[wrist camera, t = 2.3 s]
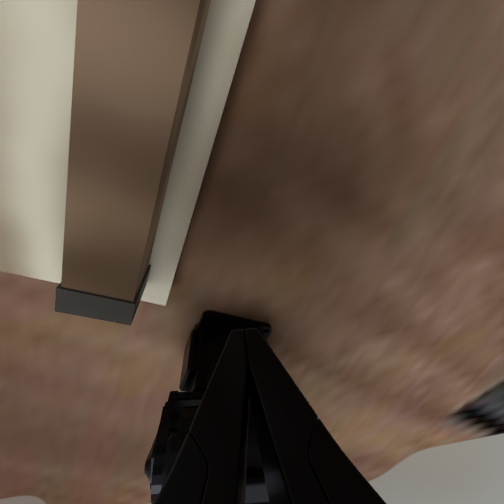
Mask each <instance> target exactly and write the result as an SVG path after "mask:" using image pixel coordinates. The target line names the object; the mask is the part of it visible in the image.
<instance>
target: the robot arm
mask: <svg viewBox="0 0 504 504" xmlns="http://www.w3.org/2000/svg"><path fill="white" fill-rule="evenodd" d="M206 317H210V318H206ZM265 329H267V330H265ZM271 331H272V330H271V326H270V325H269V324H265V323H260V322H256V321H251V320H246V319H241V318H237V317H232V316H227V315H223V314H218V313H213V312H204V313H203V314H202V317H201V319H200V322H199V325H198V327H197V330H193V331H192V332H191V334H190V337H189V340H188V342H187V345H186V348H185V352H184V359H183V366H182V373H181V380H180V387H179V388H180V390H181V391H184V392H178V391H170V395H169V399H168V402H166V403H165V406H164V407H163V410H162V415H161V421H160V425H159V429H158V432H157V436H156V438H155V440H154V443H153V445H152V448H151V450H150V452H149V455H148V457H147V460H146V463H145V470H144V471H145V474H146V476H147V477H148V478H149V480H150V489H151V503H152V504H386V503H385V502H384V501H383V499H382V498H381V497H380V496H379V495H378V493H377V492H376V491H375V490H374V489H373V487H372V486H371V485H370V484H369V483H368V481H367V480H366V479H365V478H364V477H363V476H362V474H361V473H360V472H359V471H358V470H357V468H356V467H355V466H354V465H353V463H352V462H351V461H350V460H349V458H348V457H347V456H346V455H345V453H344V452H343V451H342V450H341V448H340V447H339V445H338V444H337V443H336V441H335V440H334V439H333V437H332V436H331V434H330V433H329V432H328V430H327V429H326V427H325V426H324V424H323V423H322V422H321V420H320V419H317V418H318V416H317V414H316V413H315V412H314V410H313V409H312V407H311V406H310V404H309V403H308V401H307V400H306V398H305V397H304V396H303V394H302V393H301V391H300V390H299V388H298V387H297V385H296V384H295V382H294V381H293V379H292V378H291V377H290V375H289V374H288V372H287V371H286V369H285V368H284V366H283V365H282V363H281V362H280V361H279V359H278V358H277V356H276V355H275V353H274V352H273V350H272V349H271V347H270V346H269V344H268V343H267V342H266V340H267V338H268V337H269V335H270V333H271Z"/></svg>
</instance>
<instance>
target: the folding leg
mask: <svg viewBox="0 0 504 504" xmlns="http://www.w3.org/2000/svg"><path fill="white" fill-rule="evenodd" d="M210 3H211V0H78V1H77V18H76V36H75V53H74V70H73V87H72V105H71V122H70V139H69V157H68V174H67V191H66V209H65V226H64V243H63V261H62V278H61V283H60V284H59V285H58V286H57V288H56V301H55V311H57V312H62V313H67V314H73V315H78V316H84V317H89V318H94V319H100V320H105V321H110V322H116V323H121V324H127V325H131V323H132V321H133V318H134V315H135V313H136V310H137V308H138V305H139V303H140V300H141V297H142V295H143V292H144V290H145V287H146V284H147V281H148V277H149V272H150V268H151V265H149V261H150V257H151V253H152V248H153V244H154V240H155V236H156V231H157V227H158V223H159V219H160V214H161V210H162V206H163V202H164V197H165V193H166V189H167V185H168V181H169V176H170V172H171V168H172V164H173V159H174V155H175V151H176V147H177V142H178V138H179V134H180V130H181V125H182V121H183V117H184V113H185V109H186V104H187V100H188V96H189V92H190V87H191V83H192V79H193V75H194V70H195V66H196V62H197V58H198V53H199V49H200V45H201V41H202V37H203V32H204V28H205V24H206V20H207V15H208V11H209V7H210Z"/></svg>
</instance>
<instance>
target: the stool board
mask: <svg viewBox="0 0 504 504" xmlns="http://www.w3.org/2000/svg"><path fill="white" fill-rule="evenodd" d="M77 1H78V0H0V271H3V272H8V273H12V274H17V275H22V276H27V277H31V278H36V279H41V280H46V281H50V282H55V283H61V278H62V261H63V243H64V226H65V209H66V191H67V174H68V157H69V139H70V122H71V105H72V87H73V70H74V53H75V36H76V18H77ZM255 1H256V0H211V3H210V7H209V11H208V15H207V20H206V24H205V28H204V32H203V37H202V41H201V45H200V49H199V53H198V58H197V62H196V66H195V70H194V75H193V79H192V83H191V87H190V92H189V96H188V100H187V104H186V109H185V113H184V117H183V121H182V125H181V130H180V134H179V138H178V142H177V147H176V151H175V155H174V159H173V164H172V168H171V172H170V176H169V181H168V185H167V189H166V193H165V197H164V202H163V206H162V210H161V214H160V219H159V223H158V227H157V231H156V236H155V240H154V244H153V248H152V253H151V257H150V261H149V265H151V268H150V272H149V277H148V281H147V284H146V287H145V290H144V292H143V295H142V297H141V301H145V302H150V303H155V304H160V305H164V306H166V302H167V299H168V295H169V292H170V289H171V285H172V282H173V279H174V275H175V272H176V268H177V265H178V262H179V258H180V255H181V252H182V248H183V245H184V241H185V238H186V235H187V231H188V228H189V224H190V221H191V218H192V214H193V211H194V208H195V204H196V201H197V197H198V194H199V191H200V187H201V184H202V181H203V177H204V174H205V170H206V167H207V164H208V160H209V157H210V154H211V150H212V147H213V143H214V140H215V137H216V133H217V130H218V126H219V123H220V120H221V116H222V113H223V110H224V106H225V103H226V99H227V96H228V93H229V89H230V86H231V83H232V79H233V76H234V72H235V69H236V66H237V62H238V59H239V56H240V52H241V49H242V45H243V42H244V39H245V35H246V32H247V28H248V25H249V22H250V18H251V15H252V12H253V8H254V5H255Z"/></svg>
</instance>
